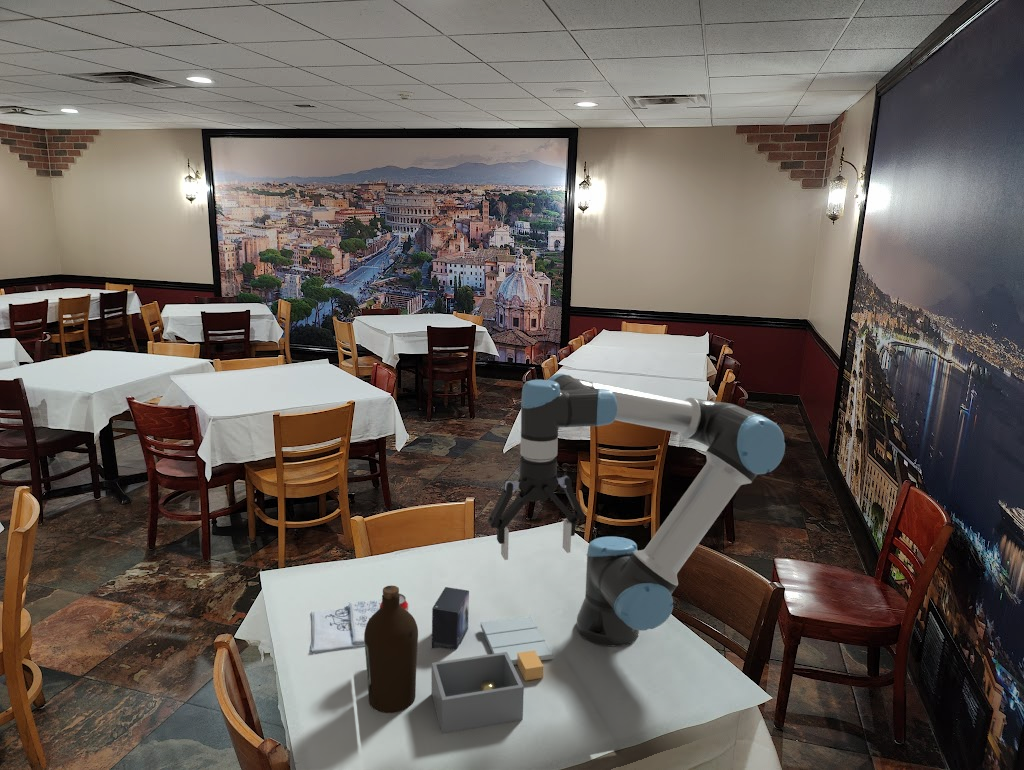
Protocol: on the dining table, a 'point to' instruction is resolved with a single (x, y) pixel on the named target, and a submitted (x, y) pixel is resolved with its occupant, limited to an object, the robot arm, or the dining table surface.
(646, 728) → the dining table surface
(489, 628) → the lid
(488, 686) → the part
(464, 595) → the small box
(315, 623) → the white printed cloths
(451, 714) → the tub
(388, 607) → the brown tall rounded piece
